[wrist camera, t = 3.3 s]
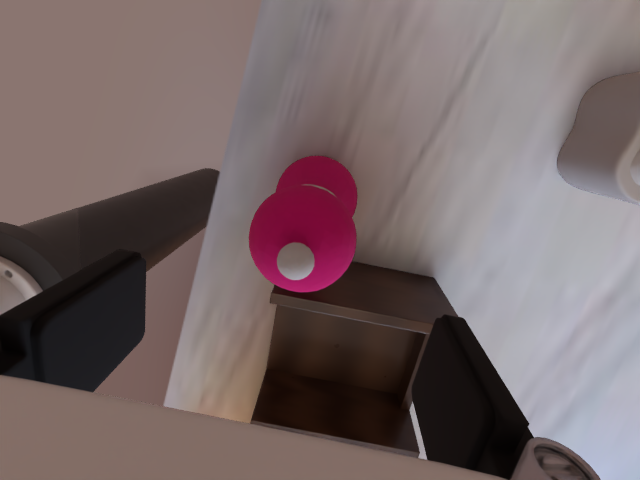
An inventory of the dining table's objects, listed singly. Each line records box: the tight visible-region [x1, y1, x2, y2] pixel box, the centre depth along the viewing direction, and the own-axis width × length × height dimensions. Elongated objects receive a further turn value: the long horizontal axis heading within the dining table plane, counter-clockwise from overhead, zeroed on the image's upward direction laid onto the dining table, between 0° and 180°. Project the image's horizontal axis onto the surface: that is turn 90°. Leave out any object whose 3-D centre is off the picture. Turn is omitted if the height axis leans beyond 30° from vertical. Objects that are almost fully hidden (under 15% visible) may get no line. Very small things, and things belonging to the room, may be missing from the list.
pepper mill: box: [249, 156, 357, 292], centre depth 25 cm, size 7×7×20 cm
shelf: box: [251, 261, 458, 458], centre depth 36 cm, size 16×28×10 cm, turn 169°
